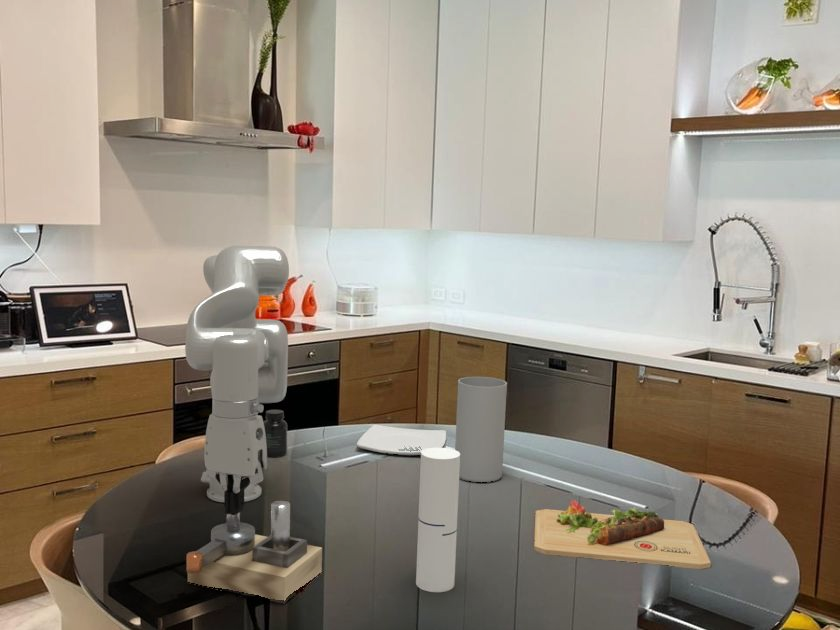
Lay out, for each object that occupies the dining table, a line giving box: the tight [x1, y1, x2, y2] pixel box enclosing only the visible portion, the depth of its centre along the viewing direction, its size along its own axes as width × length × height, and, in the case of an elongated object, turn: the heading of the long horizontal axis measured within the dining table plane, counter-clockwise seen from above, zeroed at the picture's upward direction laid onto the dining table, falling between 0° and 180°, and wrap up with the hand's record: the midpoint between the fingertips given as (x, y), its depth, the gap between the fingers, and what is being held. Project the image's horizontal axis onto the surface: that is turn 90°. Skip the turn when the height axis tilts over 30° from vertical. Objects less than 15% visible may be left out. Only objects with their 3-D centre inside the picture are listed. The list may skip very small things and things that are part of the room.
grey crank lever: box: [186, 512, 256, 574], centre depth 153 cm, size 8×17×11 cm, turn 159°
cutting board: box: [533, 500, 712, 570], centre depth 181 cm, size 35×23×8 cm
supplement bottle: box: [263, 409, 288, 459], centre depth 231 cm, size 7×7×12 cm
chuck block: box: [187, 533, 323, 601], centre depth 156 cm, size 20×14×8 cm
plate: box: [356, 424, 447, 456], centre depth 246 cm, size 24×24×3 cm
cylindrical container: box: [415, 447, 460, 593], centre depth 155 cm, size 7×7×25 cm
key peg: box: [270, 500, 291, 552], centre depth 154 cm, size 3×3×10 cm
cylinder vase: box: [454, 376, 508, 484], centre depth 219 cm, size 12×12×25 cm
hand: (234, 512), depth 146 cm, fingers closed
